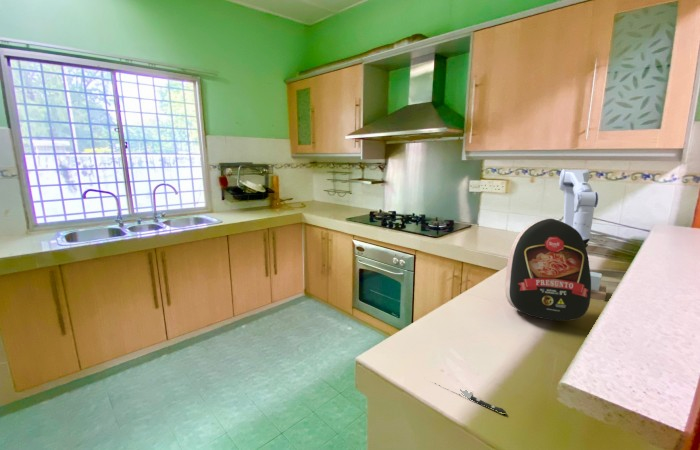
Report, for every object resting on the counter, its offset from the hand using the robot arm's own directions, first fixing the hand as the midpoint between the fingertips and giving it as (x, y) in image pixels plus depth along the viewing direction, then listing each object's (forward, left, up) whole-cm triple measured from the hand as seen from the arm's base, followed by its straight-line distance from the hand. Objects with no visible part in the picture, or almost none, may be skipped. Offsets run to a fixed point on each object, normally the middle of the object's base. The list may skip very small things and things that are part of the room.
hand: (577, 257), depth 122 cm
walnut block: (+5, -8, -11) cm, 15 cm away
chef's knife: (-13, -86, -11) cm, 88 cm away
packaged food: (-6, -36, -11) cm, 38 cm away
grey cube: (+6, -8, -8) cm, 13 cm away
